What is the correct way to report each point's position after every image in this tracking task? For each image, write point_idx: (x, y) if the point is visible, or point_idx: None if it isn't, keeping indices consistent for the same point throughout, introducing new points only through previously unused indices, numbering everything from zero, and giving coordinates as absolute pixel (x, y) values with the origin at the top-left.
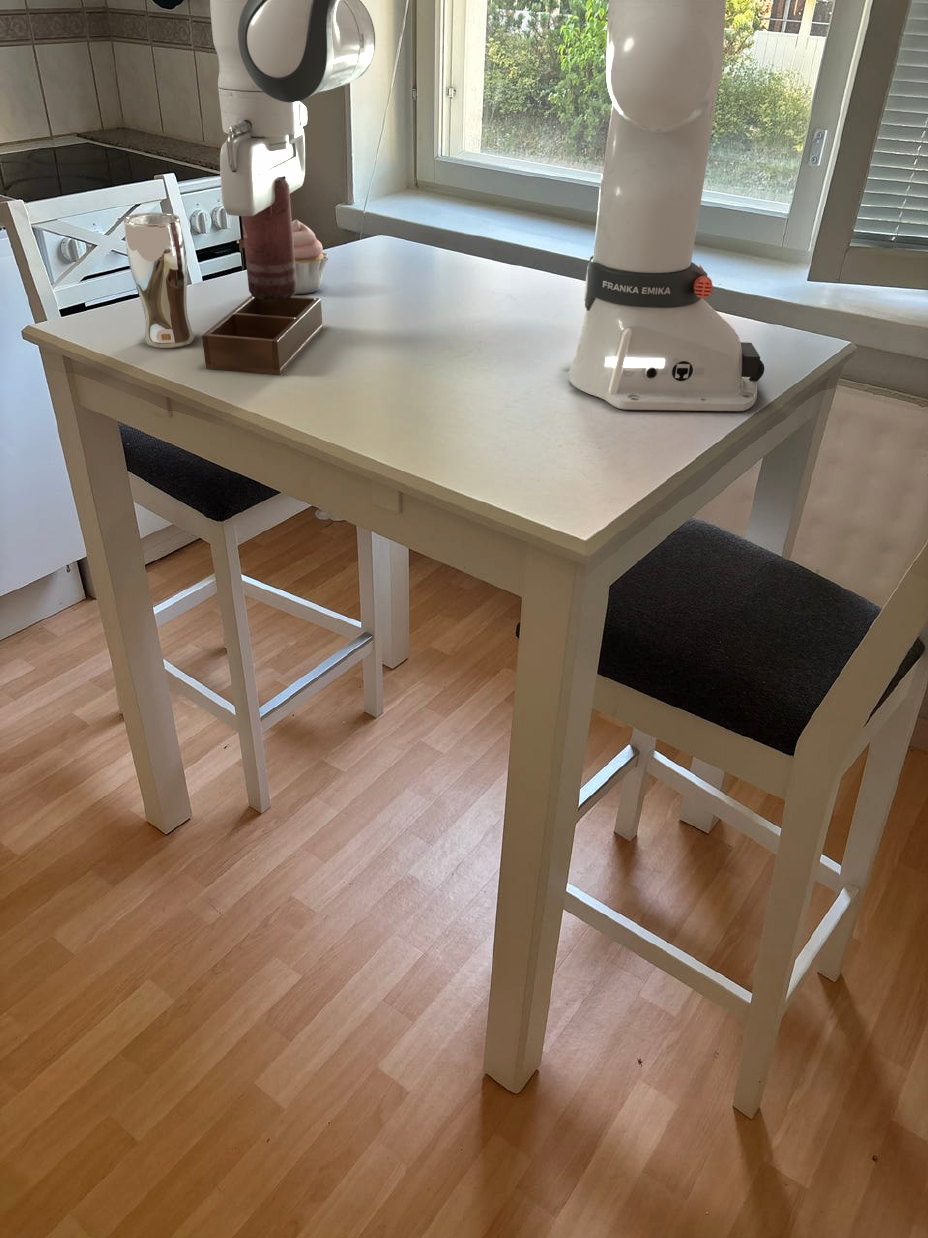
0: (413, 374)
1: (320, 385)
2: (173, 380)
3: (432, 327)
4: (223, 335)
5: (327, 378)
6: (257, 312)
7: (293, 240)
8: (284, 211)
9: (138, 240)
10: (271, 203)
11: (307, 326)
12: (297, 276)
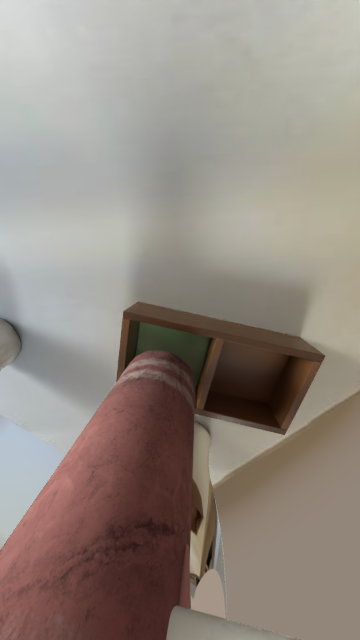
0: (327, 154)
1: (345, 289)
2: (299, 426)
3: (110, 133)
4: (289, 414)
5: (321, 282)
6: None
7: None
8: (148, 519)
9: None
10: (212, 629)
11: (193, 320)
12: (1, 346)
